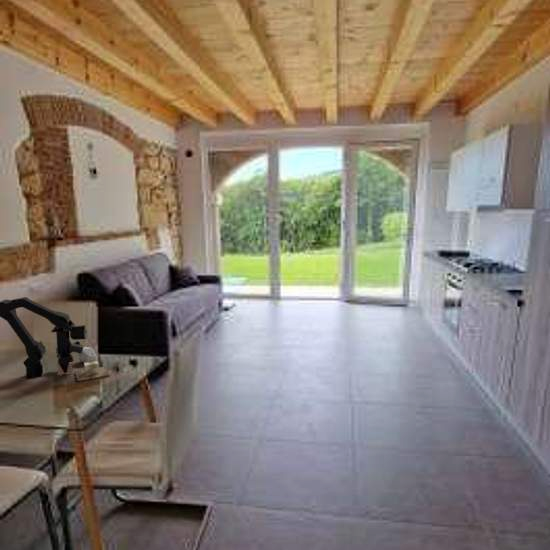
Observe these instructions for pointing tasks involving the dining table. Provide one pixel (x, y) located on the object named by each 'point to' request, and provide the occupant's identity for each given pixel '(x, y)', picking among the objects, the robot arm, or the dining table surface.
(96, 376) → the walnut board
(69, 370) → the terracotta brick
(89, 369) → the birch brick
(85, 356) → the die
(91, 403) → the dining table surface
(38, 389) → the dining table surface
